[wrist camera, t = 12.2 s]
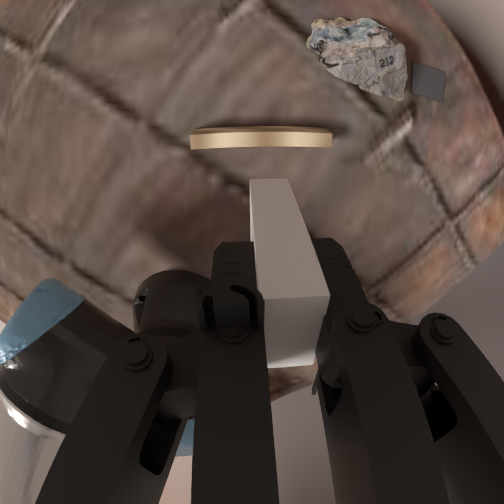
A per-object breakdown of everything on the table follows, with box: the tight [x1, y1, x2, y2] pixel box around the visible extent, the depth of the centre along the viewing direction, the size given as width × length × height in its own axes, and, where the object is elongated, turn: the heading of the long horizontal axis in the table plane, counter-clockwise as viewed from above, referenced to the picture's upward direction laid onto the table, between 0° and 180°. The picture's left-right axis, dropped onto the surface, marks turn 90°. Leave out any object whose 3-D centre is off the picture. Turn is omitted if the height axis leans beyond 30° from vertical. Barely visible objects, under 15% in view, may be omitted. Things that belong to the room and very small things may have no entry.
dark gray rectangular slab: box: [411, 62, 445, 101], centre depth 25 cm, size 5×4×1 cm
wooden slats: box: [190, 126, 332, 149], centre depth 23 cm, size 14×20×3 cm
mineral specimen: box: [306, 17, 408, 101], centre depth 22 cm, size 10×8×10 cm
